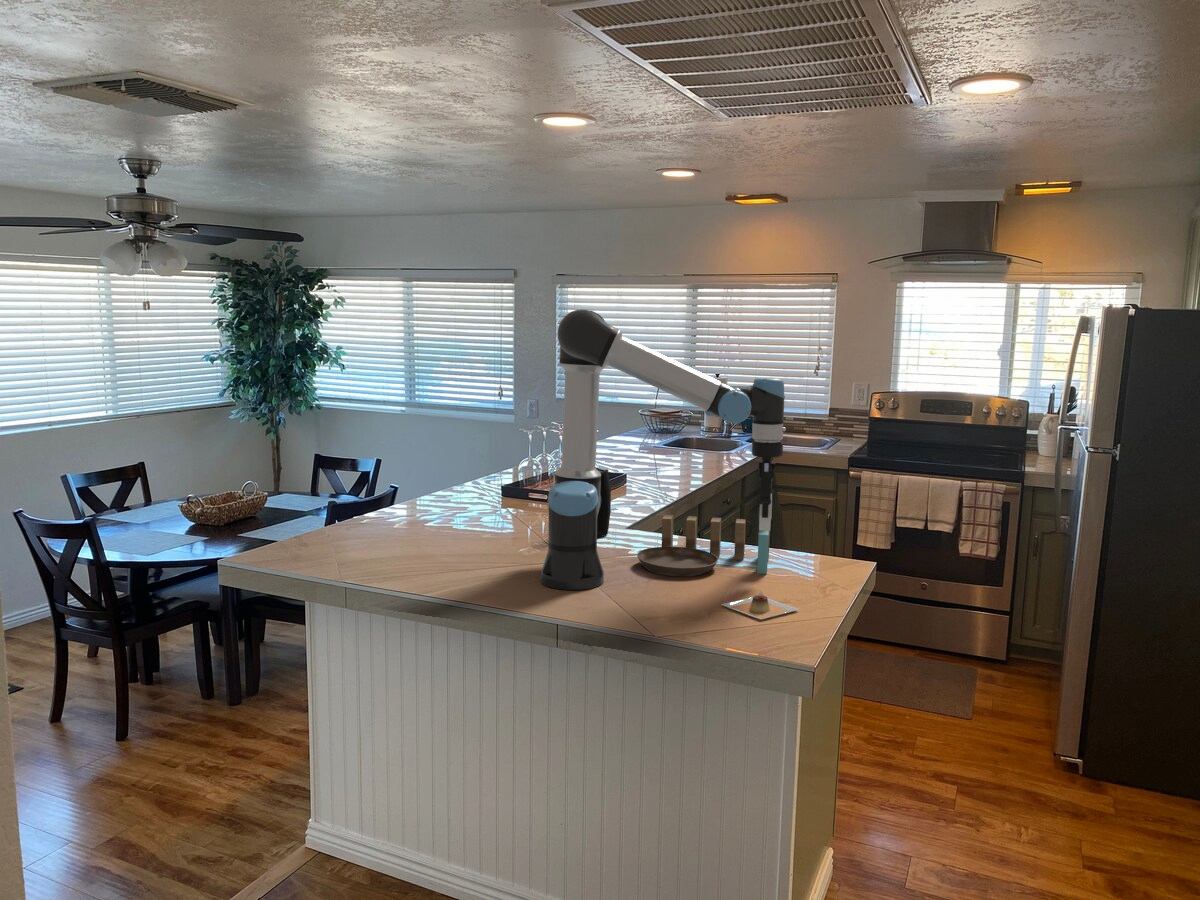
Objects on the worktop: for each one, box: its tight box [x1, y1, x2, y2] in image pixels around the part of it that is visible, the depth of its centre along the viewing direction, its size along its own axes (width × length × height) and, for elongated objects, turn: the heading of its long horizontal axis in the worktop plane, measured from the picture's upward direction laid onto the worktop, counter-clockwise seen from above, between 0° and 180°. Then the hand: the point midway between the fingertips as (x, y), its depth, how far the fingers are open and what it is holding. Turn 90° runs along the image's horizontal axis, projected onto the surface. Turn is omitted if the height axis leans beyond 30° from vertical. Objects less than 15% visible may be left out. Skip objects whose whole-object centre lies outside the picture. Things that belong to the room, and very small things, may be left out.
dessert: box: [720, 590, 800, 621], centre depth 194 cm, size 12×12×5 cm
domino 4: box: [733, 518, 747, 561], centre depth 236 cm, size 5×2×10 cm, turn 168°
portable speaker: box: [596, 467, 612, 538], centre depth 259 cm, size 9×9×20 cm
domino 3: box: [709, 517, 722, 560], centre depth 238 cm, size 5×2×10 cm, turn 168°
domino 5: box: [756, 529, 769, 575], centre depth 223 cm, size 5×2×10 cm, turn 168°
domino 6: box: [768, 530, 771, 561], centre depth 235 cm, size 5×2×10 cm, turn 168°
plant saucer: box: [636, 546, 719, 577], centre depth 226 cm, size 21×21×3 cm
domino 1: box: [661, 514, 674, 547], centre depth 240 cm, size 5×2×10 cm, turn 168°
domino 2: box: [685, 515, 698, 549], centre depth 239 cm, size 5×2×10 cm, turn 168°
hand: (765, 524), depth 222 cm, fingers open, 13 cm apart
